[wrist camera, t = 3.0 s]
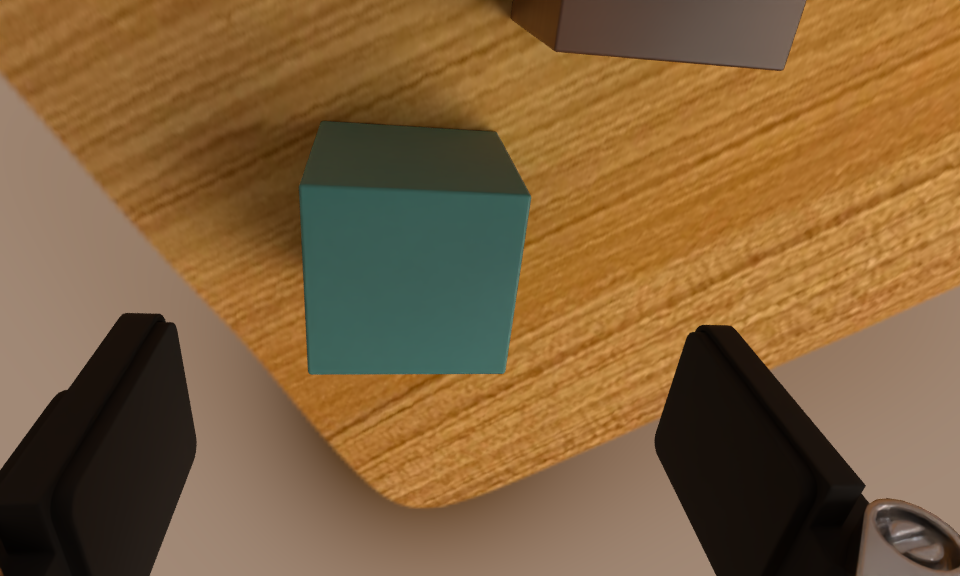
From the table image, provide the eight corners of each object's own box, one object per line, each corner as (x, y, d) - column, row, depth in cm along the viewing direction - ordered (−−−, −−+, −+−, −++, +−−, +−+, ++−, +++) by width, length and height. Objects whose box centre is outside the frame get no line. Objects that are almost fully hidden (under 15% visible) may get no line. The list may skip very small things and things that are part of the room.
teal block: (325, 277, 19) (307, 375, 15) (320, 120, 17) (297, 184, 13) (480, 280, 20) (505, 374, 16) (497, 131, 18) (532, 195, 14)
